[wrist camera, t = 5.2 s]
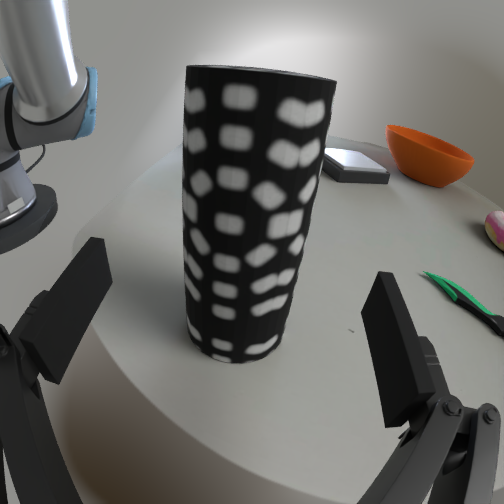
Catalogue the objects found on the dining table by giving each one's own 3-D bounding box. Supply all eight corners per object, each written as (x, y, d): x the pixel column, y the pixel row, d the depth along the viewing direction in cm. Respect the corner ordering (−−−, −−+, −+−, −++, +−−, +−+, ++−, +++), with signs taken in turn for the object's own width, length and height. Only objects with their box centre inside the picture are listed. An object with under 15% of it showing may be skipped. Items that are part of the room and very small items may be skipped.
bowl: (462, 183, 75) (472, 153, 70) (463, 208, 58) (477, 168, 52) (388, 152, 86) (395, 122, 81) (367, 167, 69) (376, 128, 63)
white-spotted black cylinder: (171, 346, 24) (157, 67, 12) (206, 283, 31) (217, 64, 19) (273, 374, 23) (338, 83, 11) (290, 303, 29) (335, 79, 18)
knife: (556, 352, 23) (553, 374, 20) (553, 356, 23) (549, 378, 20) (434, 258, 37) (420, 271, 34) (432, 263, 38) (418, 276, 35)
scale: (307, 157, 68) (309, 144, 67) (353, 160, 72) (356, 148, 70) (338, 182, 58) (341, 166, 56) (387, 184, 61) (391, 170, 60)
